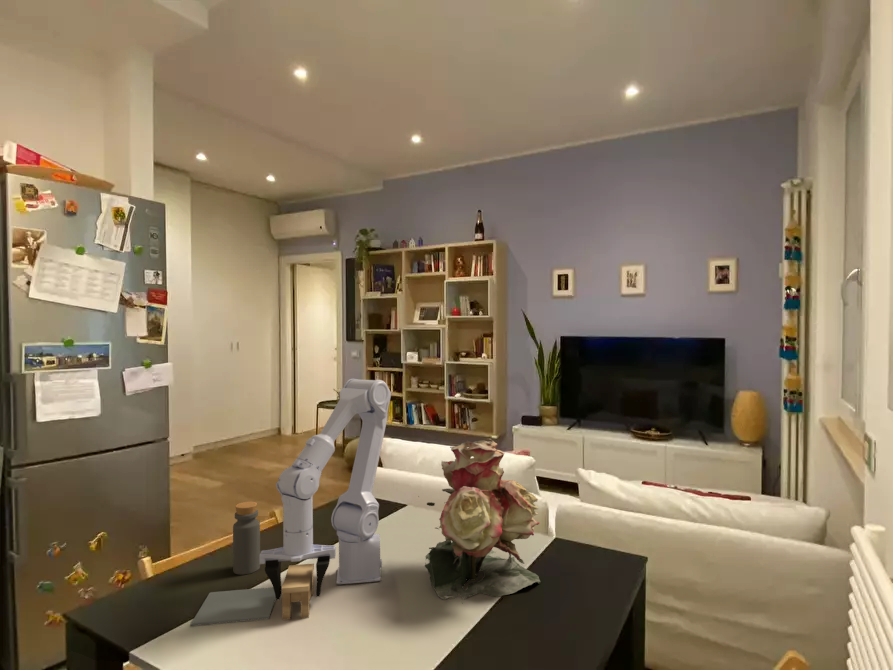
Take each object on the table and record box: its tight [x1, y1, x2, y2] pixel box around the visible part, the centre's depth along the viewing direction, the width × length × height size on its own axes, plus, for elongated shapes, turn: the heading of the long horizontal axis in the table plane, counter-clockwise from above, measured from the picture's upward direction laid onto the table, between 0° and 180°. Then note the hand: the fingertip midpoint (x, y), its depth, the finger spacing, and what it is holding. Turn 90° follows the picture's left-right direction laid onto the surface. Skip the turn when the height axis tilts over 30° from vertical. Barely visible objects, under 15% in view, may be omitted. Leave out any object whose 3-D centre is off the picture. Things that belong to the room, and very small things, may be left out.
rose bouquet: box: [418, 437, 541, 605], centre depth 116 cm, size 26×29×30 cm
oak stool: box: [281, 563, 315, 620], centre depth 102 cm, size 10×5×6 cm, turn 9°
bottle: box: [232, 501, 261, 576], centre depth 119 cm, size 6×6×15 cm
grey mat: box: [190, 586, 277, 627], centre depth 102 cm, size 14×12×1 cm
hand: (298, 595), depth 102 cm, fingers open, 7 cm apart
